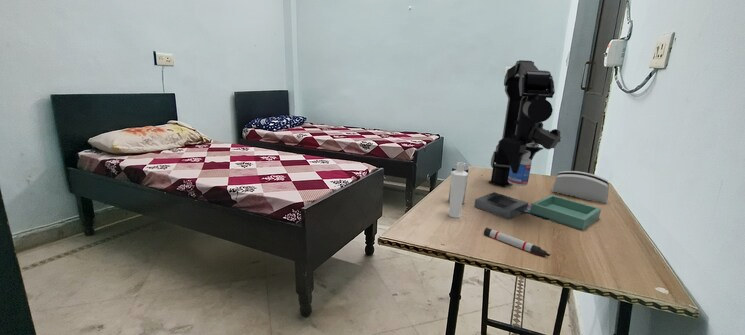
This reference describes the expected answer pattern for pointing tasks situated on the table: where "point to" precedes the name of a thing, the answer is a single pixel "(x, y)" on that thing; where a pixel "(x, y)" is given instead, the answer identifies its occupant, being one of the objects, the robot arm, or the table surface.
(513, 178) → the pill bottle
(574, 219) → the tray
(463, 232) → the table surface
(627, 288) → the table surface
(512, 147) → the robot arm
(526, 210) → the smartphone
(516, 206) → the gray square holder
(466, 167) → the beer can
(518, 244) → the marker
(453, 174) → the perfume bottle
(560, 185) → the napkin holder
